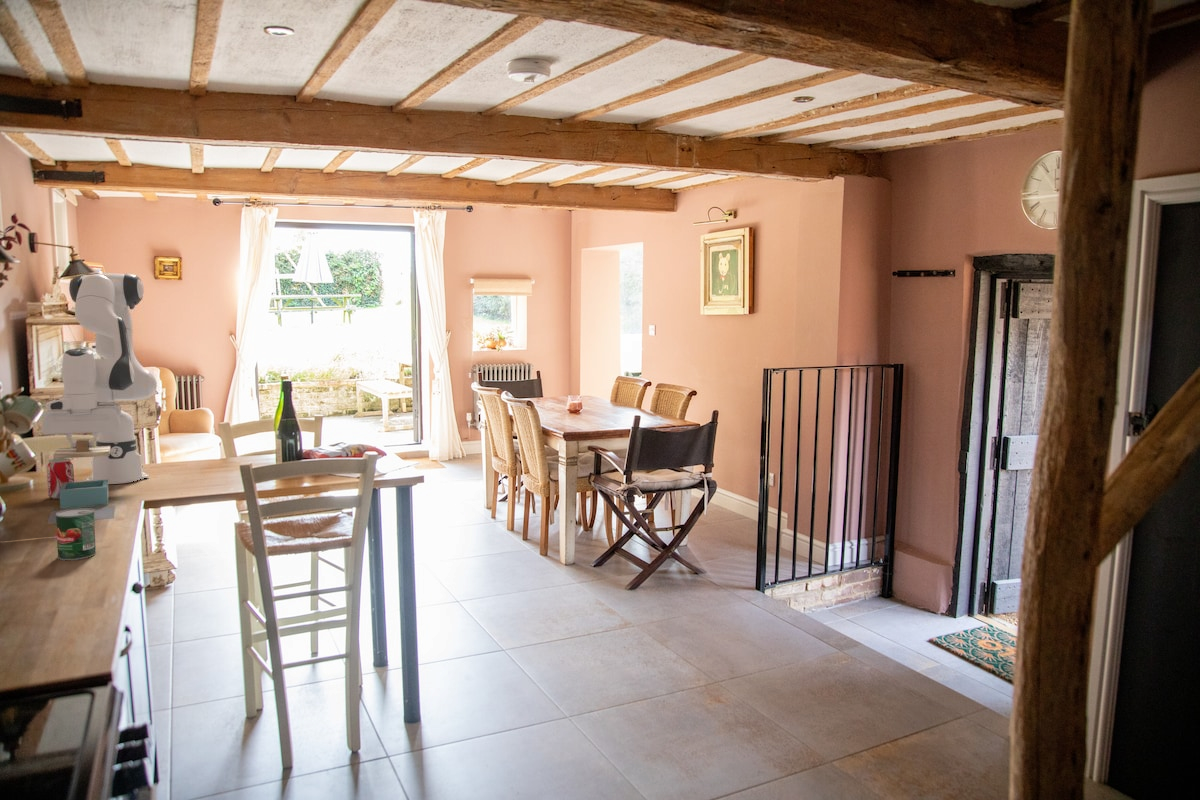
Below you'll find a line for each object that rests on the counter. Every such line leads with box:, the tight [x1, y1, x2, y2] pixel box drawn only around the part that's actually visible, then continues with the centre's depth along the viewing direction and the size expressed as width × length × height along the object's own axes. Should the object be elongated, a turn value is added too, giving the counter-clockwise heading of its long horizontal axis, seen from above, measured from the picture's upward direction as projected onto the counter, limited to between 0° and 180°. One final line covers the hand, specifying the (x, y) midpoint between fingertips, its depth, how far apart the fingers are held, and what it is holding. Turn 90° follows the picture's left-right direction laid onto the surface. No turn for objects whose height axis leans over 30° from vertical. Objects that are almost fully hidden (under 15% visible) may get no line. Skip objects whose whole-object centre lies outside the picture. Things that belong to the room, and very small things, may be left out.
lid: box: [52, 438, 110, 459], centre depth 246 cm, size 14×14×4 cm
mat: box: [46, 505, 116, 525], centre depth 234 cm, size 16×16×1 cm
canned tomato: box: [55, 507, 97, 561], centre depth 197 cm, size 8×8×11 cm
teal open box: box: [59, 479, 110, 510], centre depth 247 cm, size 12×12×6 cm
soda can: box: [46, 458, 75, 500], centre depth 255 cm, size 7×7×12 cm
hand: (82, 447), depth 246 cm, fingers closed on lid, 3 cm apart
